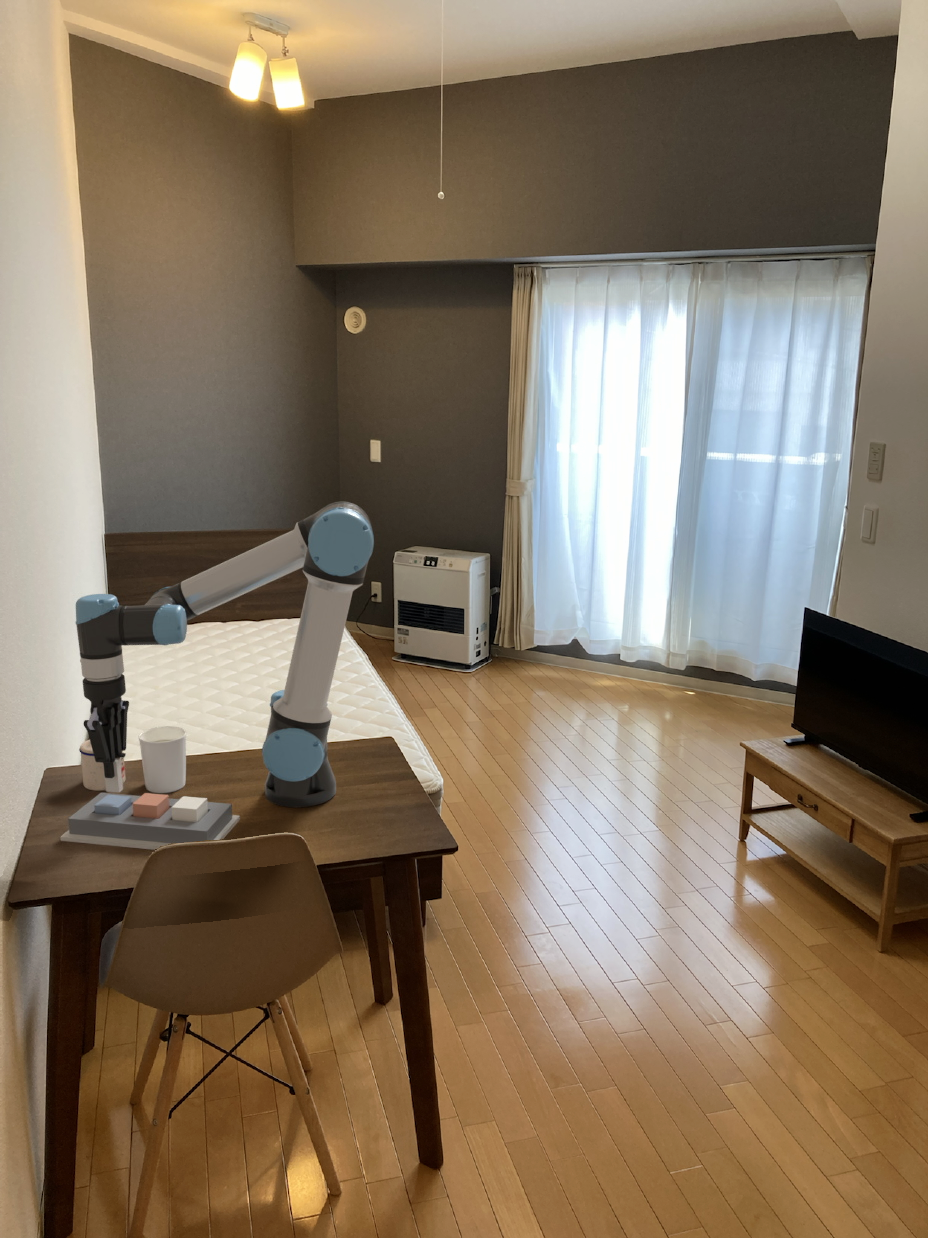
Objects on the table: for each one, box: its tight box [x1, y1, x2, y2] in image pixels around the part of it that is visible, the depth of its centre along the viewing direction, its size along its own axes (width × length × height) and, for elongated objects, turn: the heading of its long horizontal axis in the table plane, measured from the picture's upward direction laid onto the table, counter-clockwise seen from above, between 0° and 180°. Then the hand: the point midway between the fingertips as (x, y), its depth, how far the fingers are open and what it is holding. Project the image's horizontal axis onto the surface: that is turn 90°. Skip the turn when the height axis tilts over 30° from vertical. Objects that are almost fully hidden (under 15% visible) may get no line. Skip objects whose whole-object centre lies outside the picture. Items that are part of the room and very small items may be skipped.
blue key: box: [94, 795, 132, 815], centre depth 183 cm, size 5×5×3 cm
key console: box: [60, 792, 241, 851], centre depth 182 cm, size 30×15×4 cm, turn 81°
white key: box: [172, 795, 208, 822], centre depth 180 cm, size 5×5×3 cm
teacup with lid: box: [78, 739, 126, 792], centre depth 203 cm, size 12×9×12 cm
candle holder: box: [138, 725, 187, 794], centre depth 201 cm, size 10×10×12 cm
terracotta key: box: [133, 792, 170, 819], centre depth 181 cm, size 5×5×3 cm
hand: (114, 790), depth 182 cm, fingers closed
